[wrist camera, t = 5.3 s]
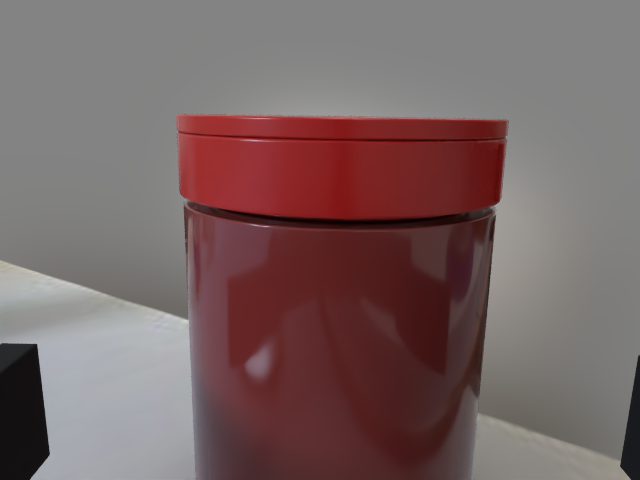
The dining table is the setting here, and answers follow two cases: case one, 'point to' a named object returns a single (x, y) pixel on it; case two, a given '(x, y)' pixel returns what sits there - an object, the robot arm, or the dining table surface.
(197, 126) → the jam lid
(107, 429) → the dining table surface
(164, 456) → the dining table surface
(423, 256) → the jam jar
